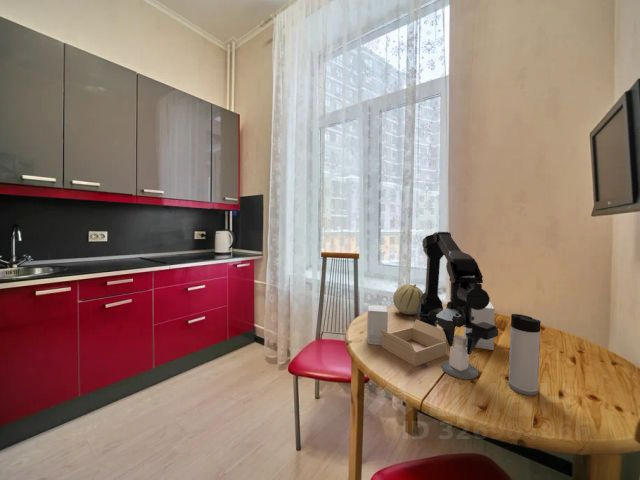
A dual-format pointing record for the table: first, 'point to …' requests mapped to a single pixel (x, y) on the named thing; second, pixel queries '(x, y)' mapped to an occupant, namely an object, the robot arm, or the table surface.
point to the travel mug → (524, 354)
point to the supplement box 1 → (376, 324)
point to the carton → (421, 334)
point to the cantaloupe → (407, 299)
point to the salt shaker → (459, 353)
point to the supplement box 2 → (487, 317)
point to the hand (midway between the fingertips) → (459, 350)
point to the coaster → (465, 374)
